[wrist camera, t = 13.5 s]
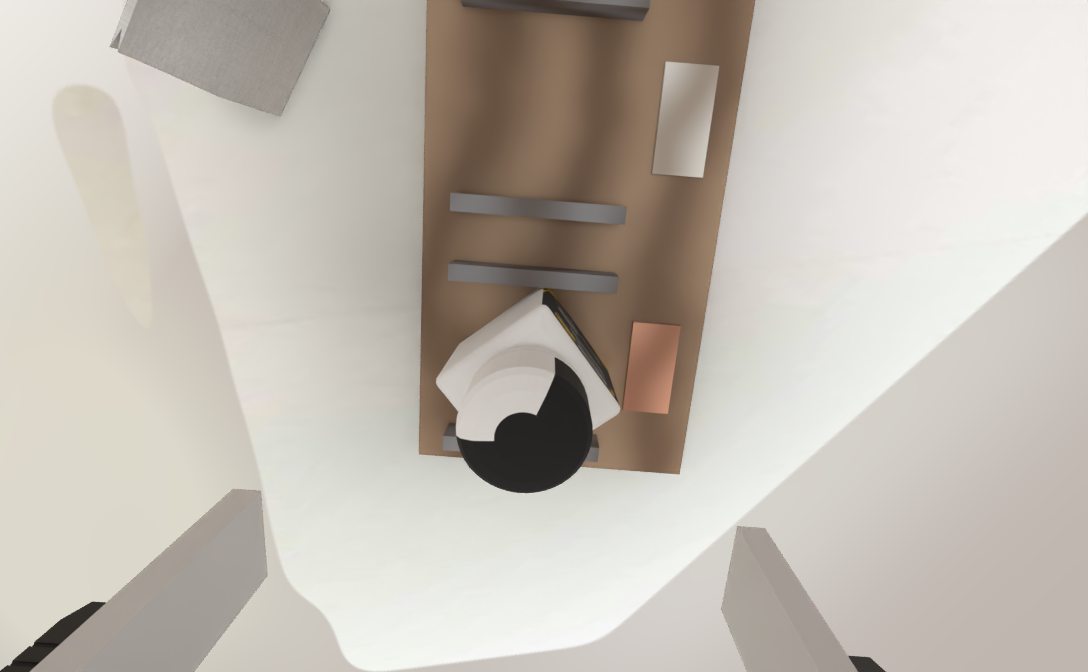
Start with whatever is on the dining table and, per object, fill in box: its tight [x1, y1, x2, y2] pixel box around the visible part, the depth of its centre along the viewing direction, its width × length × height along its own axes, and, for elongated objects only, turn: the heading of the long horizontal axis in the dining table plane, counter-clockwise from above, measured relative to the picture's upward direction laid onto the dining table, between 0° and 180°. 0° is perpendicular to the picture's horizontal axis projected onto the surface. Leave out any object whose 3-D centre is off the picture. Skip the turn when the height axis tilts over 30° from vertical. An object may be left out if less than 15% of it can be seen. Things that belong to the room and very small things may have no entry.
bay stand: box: [419, 0, 755, 474], centre depth 31 cm, size 18×30×3 cm, turn 176°
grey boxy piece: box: [110, 0, 330, 116], centre depth 25 cm, size 4×7×10 cm, turn 148°
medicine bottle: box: [436, 288, 620, 493], centre depth 28 cm, size 7×7×12 cm
